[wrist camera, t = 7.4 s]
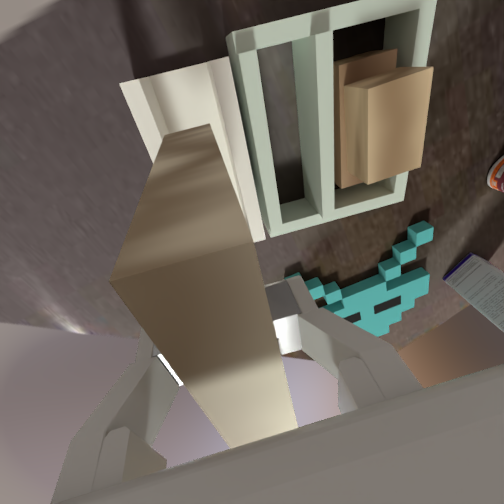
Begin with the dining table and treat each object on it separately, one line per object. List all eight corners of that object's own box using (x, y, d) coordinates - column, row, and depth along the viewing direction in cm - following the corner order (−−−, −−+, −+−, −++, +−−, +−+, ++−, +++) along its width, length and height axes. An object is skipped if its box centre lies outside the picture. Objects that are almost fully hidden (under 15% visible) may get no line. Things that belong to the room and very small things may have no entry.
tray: (401, -7, 21) (452, -24, 17) (381, 186, 30) (409, 204, 26) (225, 37, 20) (234, 29, 16) (262, 219, 30) (273, 242, 26)
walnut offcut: (368, 50, 23) (397, 48, 20) (364, 163, 29) (386, 175, 26) (318, 65, 23) (339, 65, 19) (324, 175, 29) (341, 188, 25)
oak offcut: (399, 66, 20) (433, 66, 17) (394, 155, 24) (420, 166, 22) (343, 86, 20) (368, 89, 18) (347, 171, 24) (367, 184, 22)
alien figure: (283, 276, 36) (312, 349, 48) (287, 286, 35) (317, 360, 46) (421, 218, 35) (417, 308, 47) (433, 226, 33) (425, 317, 45)
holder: (220, 58, 21) (229, 56, 16) (254, 211, 29) (266, 239, 25) (134, 80, 21) (118, 83, 16) (193, 228, 29) (193, 259, 24)
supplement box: (440, 279, 43) (508, 337, 34) (470, 251, 40) (553, 306, 31) (459, 287, 45) (529, 344, 36) (489, 261, 42) (571, 315, 33)
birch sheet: (209, 123, 14) (253, 241, 4) (245, 253, 19) (299, 435, 10) (164, 135, 14) (108, 281, 4) (212, 262, 19) (235, 455, 10)
